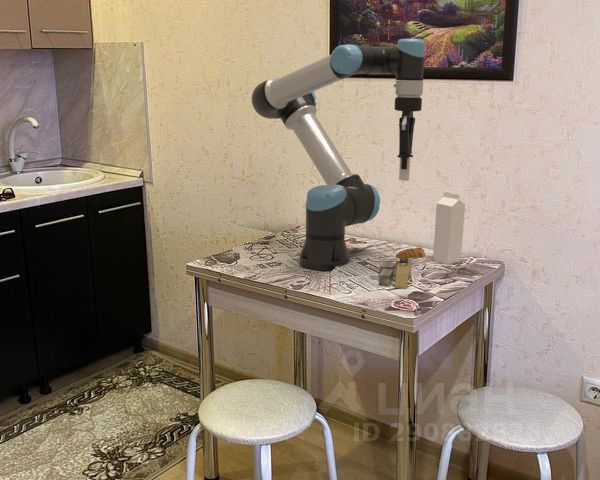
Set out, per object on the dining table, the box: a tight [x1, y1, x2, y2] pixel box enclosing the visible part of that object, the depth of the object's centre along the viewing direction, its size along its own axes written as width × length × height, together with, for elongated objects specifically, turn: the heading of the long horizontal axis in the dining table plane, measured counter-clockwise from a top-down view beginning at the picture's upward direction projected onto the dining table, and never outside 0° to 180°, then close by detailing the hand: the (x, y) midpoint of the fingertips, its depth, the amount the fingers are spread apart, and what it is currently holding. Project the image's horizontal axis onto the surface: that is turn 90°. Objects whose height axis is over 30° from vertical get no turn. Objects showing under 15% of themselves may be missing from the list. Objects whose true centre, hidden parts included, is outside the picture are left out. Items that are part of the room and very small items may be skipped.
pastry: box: [395, 246, 427, 260], centre depth 206 cm, size 9×7×4 cm
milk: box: [432, 191, 466, 265], centre depth 199 cm, size 6×6×22 cm
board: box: [378, 258, 409, 287], centre depth 184 cm, size 17×24×6 cm
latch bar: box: [394, 259, 413, 289], centre depth 180 cm, size 13×4×4 cm, turn 169°
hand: (404, 180), depth 191 cm, fingers closed
